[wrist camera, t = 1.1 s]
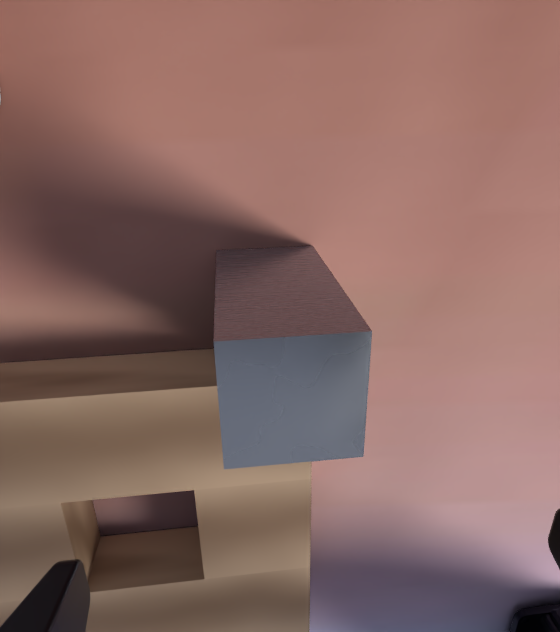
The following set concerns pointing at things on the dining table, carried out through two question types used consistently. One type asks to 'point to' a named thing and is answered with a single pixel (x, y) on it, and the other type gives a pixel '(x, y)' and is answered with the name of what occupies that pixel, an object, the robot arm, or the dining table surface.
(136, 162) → the dining table surface
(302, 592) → the bore block
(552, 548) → the robot arm
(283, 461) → the square bit
